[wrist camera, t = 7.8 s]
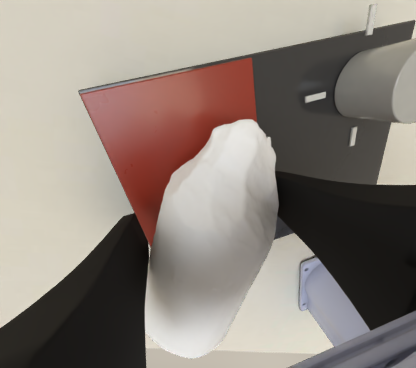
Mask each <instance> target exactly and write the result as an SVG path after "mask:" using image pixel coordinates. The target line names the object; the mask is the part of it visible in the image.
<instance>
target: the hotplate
mask: <svg viewBox="0 0 416 368" xmlns="http://www.w3.org/2000/svg"><path fill="white" fill-rule="evenodd" d="M80 96H81V98H82V100H83V102H84V104H85V107H86V109H87V111H88V113H89V115H90V117H91V120H92V122H93V124H94V126H95V128H96V130H97V132H98V135H99V137H100V139H101V141H102V143H103V145H104V148H105V150H106V152H107V154H108V156H109V158H110V160H111V163H112V165H113V167H114V169H115V171H116V173H117V176H118V178H119V180H120V182H121V184H122V186H123V188H124V191H125V193H126V195H127V197H128V199H129V201H130V204H131V206H132V208H133V210H134V212H135V214H136V216H137V219H138V221H139V223H140V225H141V227H142V229H143V231H144V234H145V236H146V238H147V240H148V242H149V244H150V247H151V246H152V243H153V238H154V234H155V232H156V225H157V220H158V216H159V212H160V209H161V204H162V201H163V196H164V192H165V189H166V187H167V185H168V183H169V182H170V178H171V175H172V174H173V173H174V172H175V171H176V170H178V169H179V168H180V167H181V166H182V165H184V164H185V163H186V162H188V161H189V160H191V159H193V158H194V157H195V156H196V155H197V154H198V153H199V152H200V150H201V149H202V148H203V147H204V146H205V145H206V143H207V142H208V140H209V139H210V136H211V134H212V131H213V129H214V128H216V127H218V126H221V125H224V124H231V123H234V122H236V121H238V120H243V119H252V120H254V121H255V122H257V117H256V104H255V91H254V78H253V65H252V58H246V59H242V60H237V61H232V62H227V63H223V64H218V65H213V66H208V67H204V68H199V69H194V70H190V71H185V72H180V73H175V74H171V75H166V76H161V77H157V78H152V79H147V80H142V81H138V82H133V83H128V84H123V85H119V86H114V87H109V88H105V89H100V90H95V91H90V92H86V93H81V94H80Z"/></svg>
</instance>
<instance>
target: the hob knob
mask: <svg viewBox="0 0 416 368" xmlns="http://www.w3.org/2000/svg"><path fill="white" fill-rule="evenodd" d="M334 98H335V105H336V108H337V110H338V111H339V112H340V113H341V114H342V115H343V116H345V117H348V118H356V119H365V120H375V121H384V122H393V123H403V124H411V123H415V122H416V38H414V39H410V40H405V41H401V42H397V43H392V44H388V45H383V46H379V47H375V48H370V49H366V50H363V51H361V52H359V53H358V54H356V55H355V56H354V57H353V58H351V59H350V60H349V61H348V63H347V64H346V65H345V67H344V68H343V70H342V71H341V73H340V75H339V78H338V80H337V83H336V87H335V95H334Z"/></svg>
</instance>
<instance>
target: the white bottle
mask: <svg viewBox="0 0 416 368" xmlns="http://www.w3.org/2000/svg"><path fill="white" fill-rule="evenodd" d="M275 163H276V154H275V152H274V149H273V148H272V147H271V138H270V137H266V134H265V133H264V132H263V130H262V129H260V128H259V126H258V124H257V122H255V121H254V120H252V119H243V120H238V121H236V122H234V123H231V124H224V125H221V126H218V127H216V128H214V129H213V131H212V134H211V136H210V139H209V140H208V142H207V143H206V145H205V146H204V147H203V148H202V149H201V150H200V152H199V153H198V154H197V155H196V156H195V157H194V158H193V159H191V160H189V161H188V162H186V163H185V164H184V165H182V166H181V167H180V168H179V169H178V170H176V171H175V172H174V173H173V174H172V175H171V178H170V182H169V183H168V185H167V187H166V189H165V192H164V196H163V201H162V204H161V209H160V212H159V216H158V220H157V225H156V232H155V234H154V238H153V243H152V246H151V251H150V258H149V265H148V275H147V286H146V297H145V331H146V333H147V334H148V336H149V337H150V338H151V339H152V341H154V342H156V343H157V345H158V346H160V347H161V348H162V349H164V350H166V351H168V352H170V353H173V354H175V355H177V356H181V357H186V358H198V357H202V356H204V355H206V354H208V353H209V352H211V351H213V350H214V349H215V348H217V347H218V345H220V343H221V342H222V341H223V339H224V338H225V336H226V334H227V332H228V330H229V327H230V326H231V324H232V322H233V320H234V318H235V316H236V314H237V312H238V310H239V308H240V306H241V304H242V302H243V300H244V299H245V296H246V294H247V292H248V290H249V288H250V287H251V285H252V283H253V281H254V280H255V278H256V276H257V274H258V272H259V270H260V268H261V266H262V265H263V263H264V261H265V259H266V257H267V255H268V253H269V251H270V248H271V246H272V243H273V240H274V236H275V231H276V222H277V213H278V207H279V200H278V192H277V184H276V178H275Z"/></svg>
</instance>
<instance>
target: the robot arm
mask: <svg viewBox="0 0 416 368" xmlns="http://www.w3.org/2000/svg"><path fill="white" fill-rule="evenodd" d="M275 178H276V184H277V192H278V200H279V207H278V213H277V216H278V217H279V218H280V219H281V220H282V221H283V222H284V223H285V224H286V225H287V226H288V227H289V228H290V229H291V230H292V231H293V232H294V233H295V234H296V235H297V236H298V237H299V238H300V239H301V240H302V241H303V242H304V243H305V244H306V245H307V246H308V247H309V248H310V249H311V250H312V252H313V253H314V254H315V255H316V256H317V257H315V258H313V259H310V260H307V261H304V262H303V263H302V264H301V272H300V297H299V309H300V310H301V311H304V310H307V309H308V310H309V312H310V313H311V314H312V316H313V317H314V319H315V320H316V321H317V323H318V324H319V326H320V327H321V329H322V330H323V331H324V333H325V334H326V336H327V337H328V338H329V340H330V341H331V343H332V344H333V346H334V347H333V348H331V349H329V350H326V351H324V352H322V353H320V354H317V355H316V356H313V357H311V358H308V359H306V360H304V361H302V362H299V363H297V364H295V365H293V366H290V367H288V368H416V185H370V184H356V183H346V182H337V181H331V180H324V179H318V178H313V177H308V176H303V175H298V174H293V173H288V172H282V171H275ZM148 264H149V248H148V240H147V238H146V236H145V234H144V231H143V229H142V227H141V225H140V223H139V221H138V219H137V216H136V214H135V213H133V214H130V215H126V216H123V217H122V218H121V219H120V220H119V221H118V223H117V224H116V225H115V226H114V227H113V228H112V229H111V231H110V232H109V233H108V234H107V235H106V236H105V238H104V239H103V240H102V241H101V242H100V243H99V244H98V245H97V246H96V247H95V249H94V250H93V251H92V252H91V253H90V254H89V255H88V256H87V257H86V258H85V259H84V260H83V261H82V262H81V263H80V264H79V265H78V266H77V267H76V268H75V269H74V270H73V271H72V272H71V273H69V274H68V275H67V276H66V277H65V278H64V279H63V280H62V281H61V282H59V283H58V284H57V285H56V286H55V287H53V288H52V289H51V290H50V291H48V292H47V293H46V294H45V295H44V296H42V297H41V298H40V299H39V300H37V301H36V302H35V303H34V304H33V305H31V306H30V307H29V308H27V309H26V310H25V311H23V312H22V313H21V314H19V315H18V316H17V317H15V318H14V319H13V320H11V321H10V322H8V323H7V324H6V325H4V326H3V327H1V328H0V368H146V353H145V297H146V286H147V275H148Z"/></svg>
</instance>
